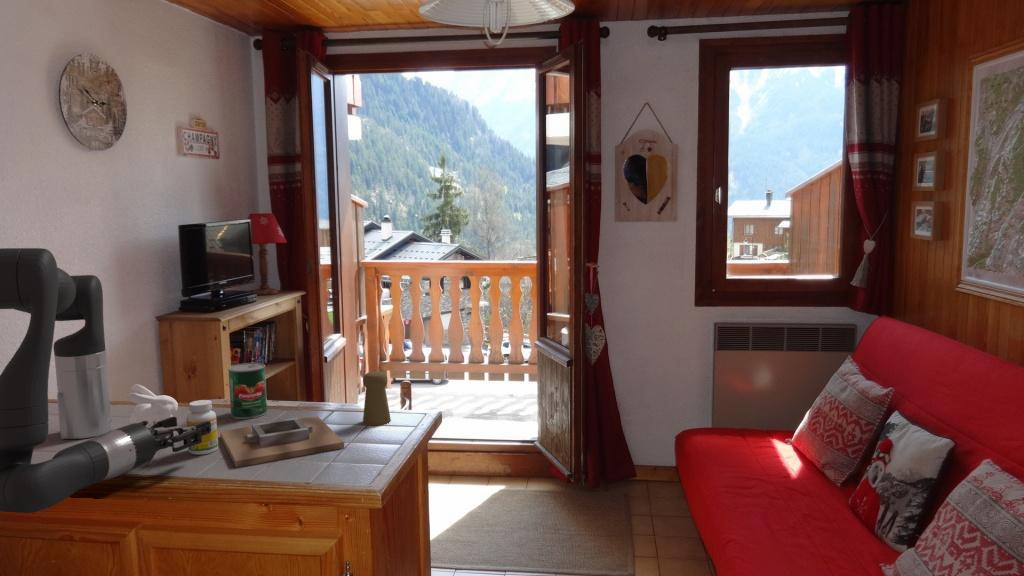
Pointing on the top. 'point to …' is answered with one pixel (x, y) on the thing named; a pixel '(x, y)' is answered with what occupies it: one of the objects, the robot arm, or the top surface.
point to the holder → (279, 440)
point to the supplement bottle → (200, 415)
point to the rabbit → (150, 405)
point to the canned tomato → (247, 390)
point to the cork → (375, 399)
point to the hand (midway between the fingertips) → (192, 423)
